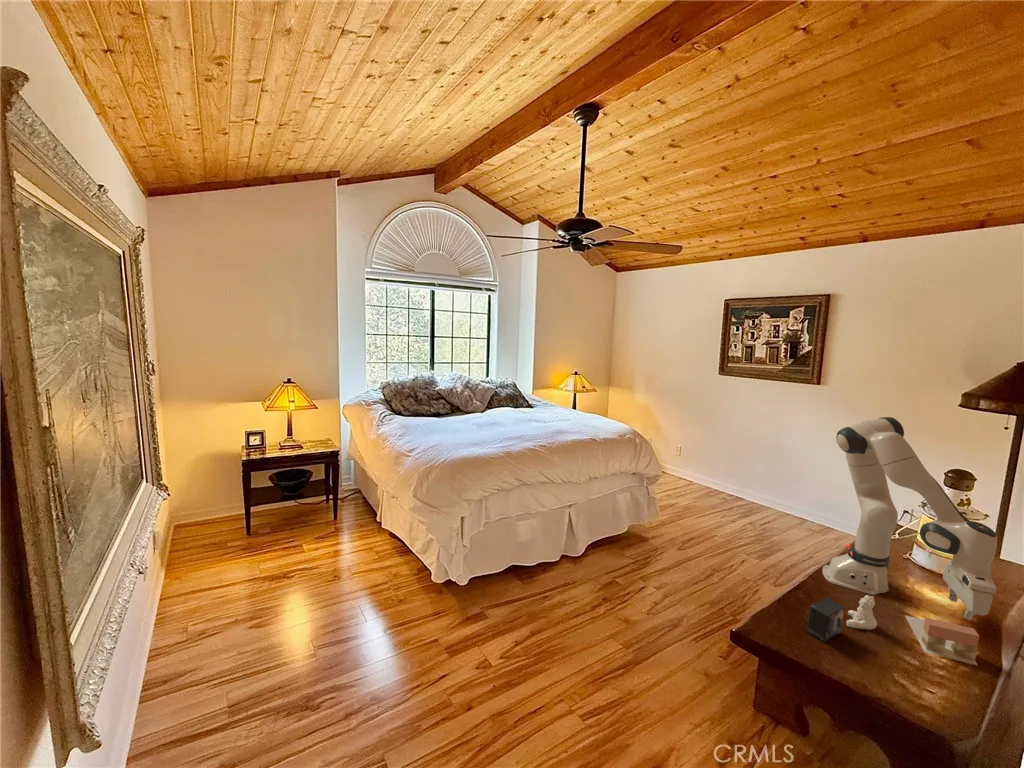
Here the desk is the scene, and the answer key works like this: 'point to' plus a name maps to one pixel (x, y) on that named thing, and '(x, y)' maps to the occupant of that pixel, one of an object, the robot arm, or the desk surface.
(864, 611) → the seated beast figurine
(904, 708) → the desk surface
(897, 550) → the desk surface
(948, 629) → the lintel
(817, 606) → the small box
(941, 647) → the pillar
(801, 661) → the desk surface
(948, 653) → the blueprint mat
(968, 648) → the pillar
